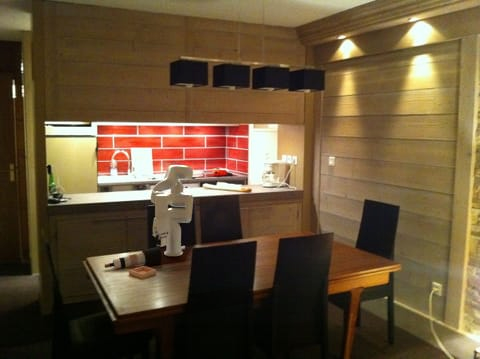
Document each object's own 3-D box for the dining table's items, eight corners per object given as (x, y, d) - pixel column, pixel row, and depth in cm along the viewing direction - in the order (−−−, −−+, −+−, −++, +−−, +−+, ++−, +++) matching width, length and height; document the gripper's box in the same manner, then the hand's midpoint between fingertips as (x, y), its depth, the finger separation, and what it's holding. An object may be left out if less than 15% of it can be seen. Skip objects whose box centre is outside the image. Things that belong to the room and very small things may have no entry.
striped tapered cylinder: (105, 275, 272) (102, 259, 274) (159, 264, 286) (156, 248, 289) (107, 273, 263) (104, 256, 266) (162, 261, 278) (159, 245, 280)
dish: (143, 270, 271) (143, 265, 270) (156, 273, 265) (156, 269, 264) (129, 274, 262) (129, 270, 261) (142, 278, 256) (142, 274, 255)
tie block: (161, 243, 276) (161, 232, 275) (166, 245, 273) (166, 234, 272) (156, 245, 272) (156, 234, 271) (161, 246, 270) (161, 235, 269)
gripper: (166, 211, 279) (166, 240, 282) (146, 216, 265) (146, 246, 268) (175, 213, 275) (175, 242, 277) (155, 218, 261) (155, 248, 264)
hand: (161, 243), depth 273 cm, fingers closed on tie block, 4 cm apart
